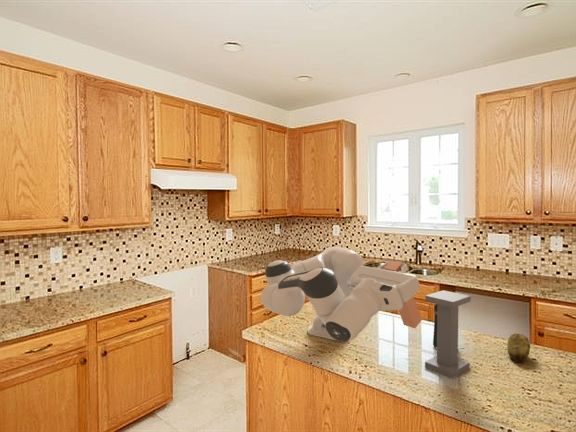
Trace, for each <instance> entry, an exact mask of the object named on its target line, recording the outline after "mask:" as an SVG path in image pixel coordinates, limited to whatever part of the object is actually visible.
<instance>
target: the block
mask: <svg viewBox="0 0 576 432" xmlns="http://www.w3.org/2000/svg"><path fill="white" fill-rule="evenodd" d="M388 262H389V263H388V264H387V265H386V266H385V267H384V270H389V271H395V272H399V271H400V268H399V267H400V266H401V264H404V262H402V261H395V260H390V261H388ZM405 273H406V274H407V271H406V272H405ZM398 313H399V315H400V317H401V318H400V319H401V320H402V323H403V326H406V327H409V328H411V329H416V328H417V327H418V326H419V324H420V323H421V322H422V317H421V315H420V314H421V313H420V312H419V308H418V304H417V301H416V298H415V295H414V296H413V297H412V298H411V299H410V300H409V301H407V302H404V303H403V307H402V309H401V310H398Z"/></svg>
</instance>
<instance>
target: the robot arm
mask: <svg viewBox="0 0 576 432" xmlns="http://www.w3.org/2000/svg"><path fill="white" fill-rule="evenodd" d="M389 262H390V261H386V262H385V263H383V264H381V265H379V266H378V265H377V267H373V266H366V265H364V260H363V257H362V256H361V254H360V253H357V252H356V251H354V250H352V249H348V248H345V247H340V246H330V247H327V248H325V249H324V250H323V251H322V252H320V253H319V254H317V255H314V256H312V257H310V258H307V259H305V260H302V261H298V262H296V263H294V264H291V265H290V263H289V262H288V261H286V260H284V259H283V260H280V259H279V260H278V259H277V260H274V261H272V262H270V263H268V264H267V265H266V266H265V268H264V273H265V277H266V281H267V285H266V286H265V287H264V288H263V289H262V291H261V294H260V300H261V303H262V305H263V307H264V308H266V309H267V310H269V311H270V312H272V313H274V314H277V315H280V316H284V317H292V316H296V315H297V314H299V313H300V312H301V310H302V309H303V307H304V306H305V300H306V298H307V299H308V301H309V303H310V304H311V305H312V309H314V311H315V313H316V315H315V316H314V318H313V322H312V324H311V325H309V327H307V334H308V335H310V336H314V337H318V338H319V337H320V338H324V339H328V340H332V341H336V342H340V343H348V342H351V341H352V340H353V339H354V338H356V337H357V336H358V335H360V333H361V332H363V330H365V328H366V327H367V326H368V325H369V324H370V322H371V319H372V317H374V316H376V315H377V314H378V313H379V312H384V311H399V310H401V309H402V307H403V303H404V302H407V301H409V300H410V299H411V298H412V297H413V296H414V297H415V295H416V293H417V292H418V291H419V290H420V287H421V285H420V282H419V278H418V277H417V275H415V274H411V273H407V271H408V270H409V267H408V265H407V264H404V263H403V264H401V266H400V267H399V268H400V271H399V272H395V271H389V270H384V267H385V266H386V265H387V264H388V263H389ZM405 272H406V273H405Z"/></svg>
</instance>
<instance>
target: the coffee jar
mask: <svg viewBox="0 0 576 432" xmlns="http://www.w3.org/2000/svg"><path fill="white" fill-rule="evenodd" d="M433 306H434V307H433V314H434V315H433V317H434V320H433V321H434V323H433V324H434V325H433V338H432V339H433V340H432V345H433V346H434V347H435V348H436V349H437V304H435V303H434V305H433Z"/></svg>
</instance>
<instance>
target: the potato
mask: <svg viewBox="0 0 576 432" xmlns="http://www.w3.org/2000/svg"><path fill="white" fill-rule="evenodd" d="M506 345H507V350H506V351H507V354H508V356H509V358H510V359H512V360H513V361H515V362H518V363H524V362H526V361H527V360H528V357H529V356H530V350H531V344H530V341H529V338H528V337H527V336H525V335H523V334H521V333H513V334H511V335H510V336H509V337H508V340H507V344H506Z"/></svg>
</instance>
